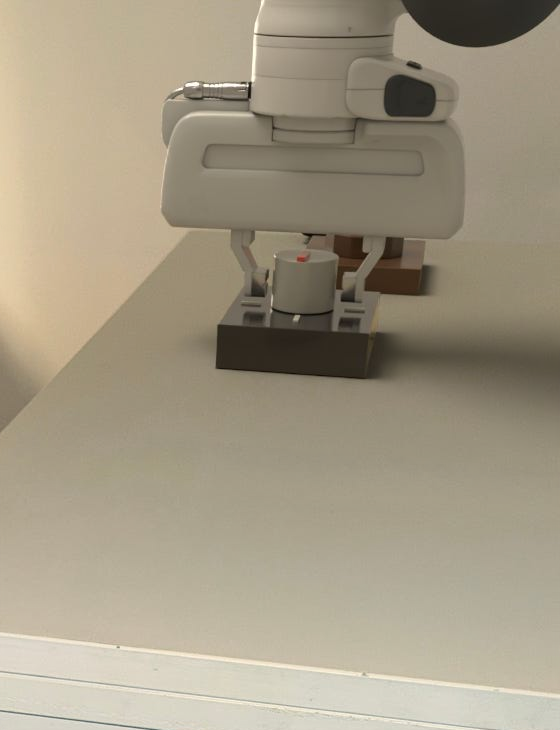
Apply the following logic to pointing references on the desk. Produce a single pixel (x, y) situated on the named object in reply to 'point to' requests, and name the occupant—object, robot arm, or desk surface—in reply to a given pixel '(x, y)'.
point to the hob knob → (304, 281)
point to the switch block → (389, 274)
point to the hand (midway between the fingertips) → (303, 298)
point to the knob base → (298, 337)
